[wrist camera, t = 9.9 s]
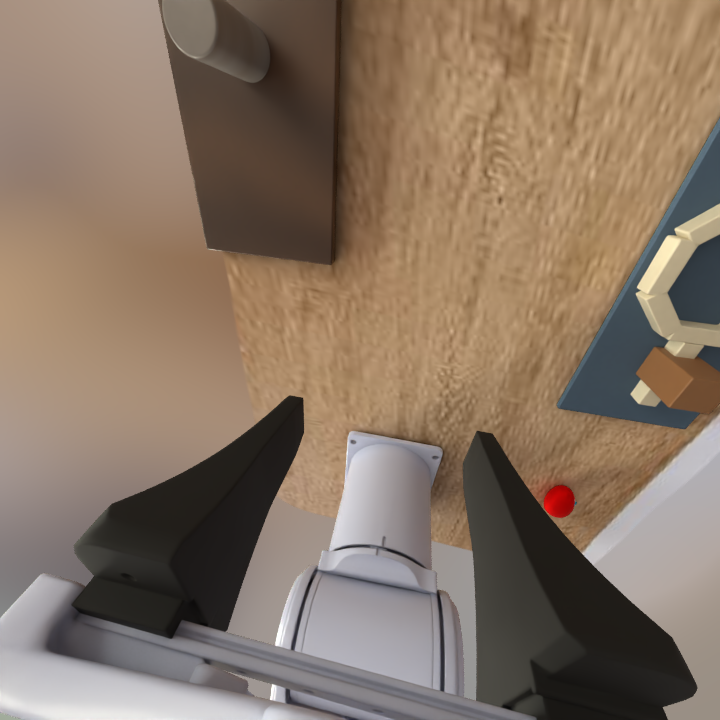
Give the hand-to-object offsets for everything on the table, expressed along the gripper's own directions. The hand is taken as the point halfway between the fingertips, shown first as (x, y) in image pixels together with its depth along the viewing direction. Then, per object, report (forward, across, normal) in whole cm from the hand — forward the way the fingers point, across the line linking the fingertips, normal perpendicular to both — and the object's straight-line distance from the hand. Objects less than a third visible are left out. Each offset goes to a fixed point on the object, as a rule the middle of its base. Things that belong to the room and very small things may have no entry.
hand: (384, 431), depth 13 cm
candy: (+10, -15, +13) cm, 22 cm away
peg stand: (+9, +9, -11) cm, 17 cm away
